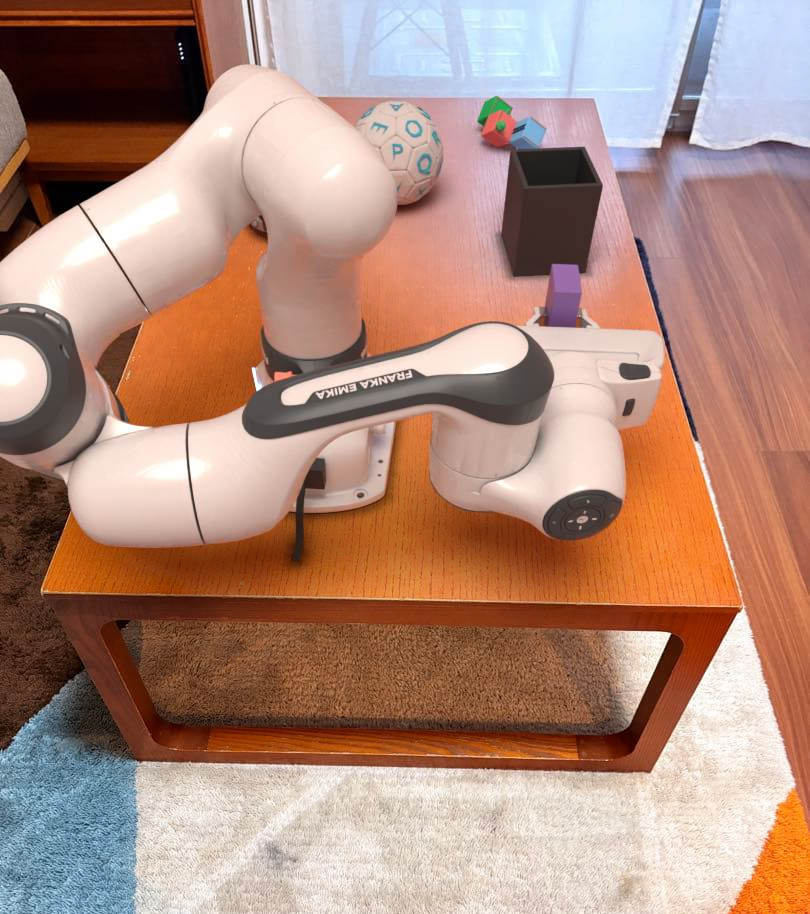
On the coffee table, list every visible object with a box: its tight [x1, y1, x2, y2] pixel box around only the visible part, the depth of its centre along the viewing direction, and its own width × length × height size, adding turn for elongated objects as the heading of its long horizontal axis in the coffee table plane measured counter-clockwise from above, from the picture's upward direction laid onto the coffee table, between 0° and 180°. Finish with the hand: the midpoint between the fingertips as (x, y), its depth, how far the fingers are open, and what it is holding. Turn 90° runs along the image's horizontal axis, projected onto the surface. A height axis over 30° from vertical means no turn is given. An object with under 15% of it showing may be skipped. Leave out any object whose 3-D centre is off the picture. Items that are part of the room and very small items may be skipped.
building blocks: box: [477, 95, 548, 149], centre depth 145 cm, size 8×8×12 cm
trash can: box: [500, 146, 604, 277], centre depth 121 cm, size 11×11×14 cm
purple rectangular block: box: [544, 264, 583, 328], centre depth 90 cm, size 5×3×11 cm, turn 177°
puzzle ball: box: [354, 100, 444, 206], centre depth 130 cm, size 15×15×15 cm
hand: (559, 312), depth 90 cm, fingers closed on purple rectangular block, 3 cm apart
